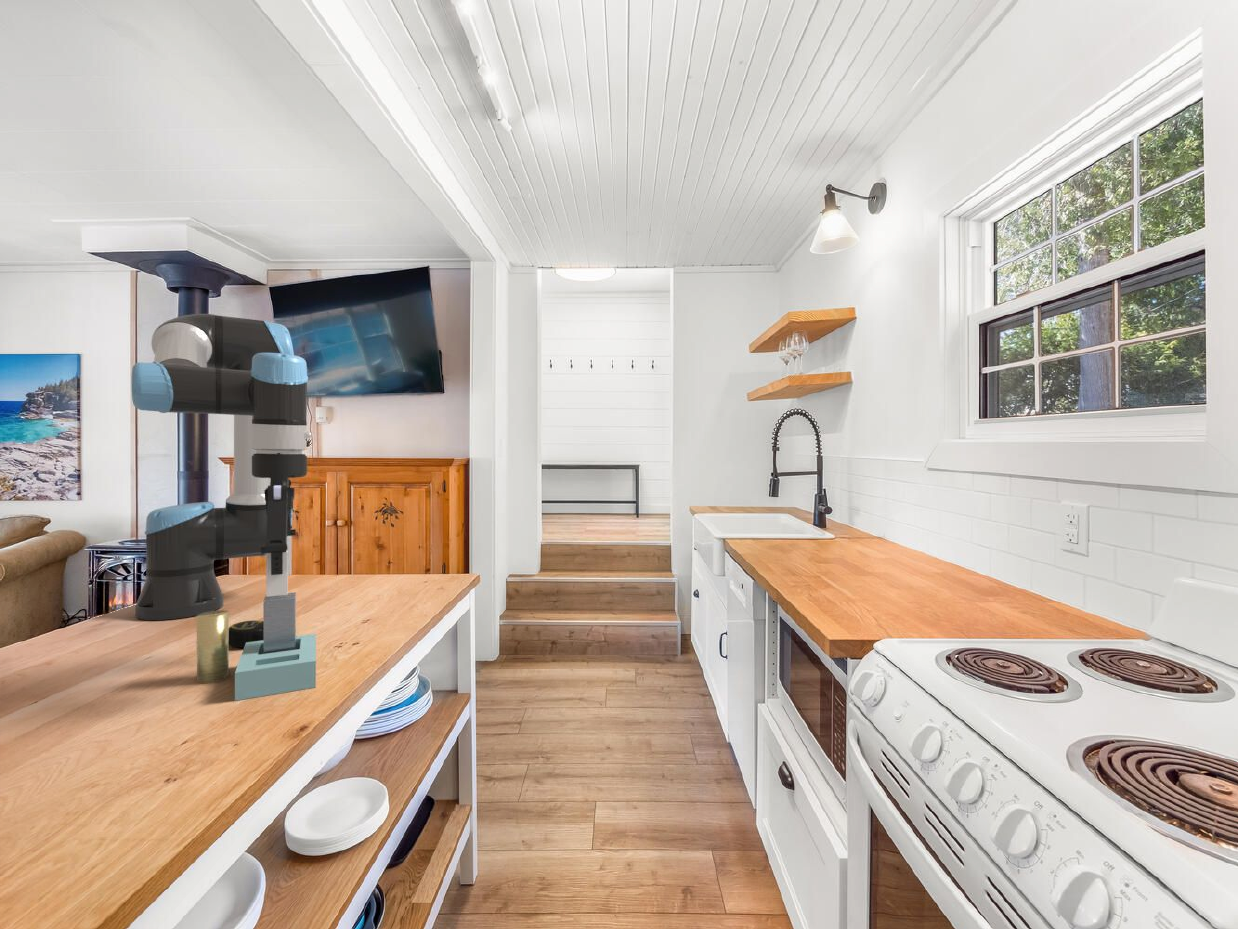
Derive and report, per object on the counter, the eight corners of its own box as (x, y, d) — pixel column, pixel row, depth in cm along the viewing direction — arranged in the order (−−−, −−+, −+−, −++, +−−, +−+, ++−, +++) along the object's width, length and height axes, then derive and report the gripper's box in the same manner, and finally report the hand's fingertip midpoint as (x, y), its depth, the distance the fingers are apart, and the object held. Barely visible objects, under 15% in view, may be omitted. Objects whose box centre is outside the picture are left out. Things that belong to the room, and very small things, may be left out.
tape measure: (265, 649, 99) (265, 628, 99) (220, 652, 97) (220, 631, 97) (276, 637, 106) (276, 617, 106) (234, 640, 104) (234, 620, 104)
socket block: (246, 666, 91) (246, 642, 91) (315, 656, 95) (315, 633, 95) (234, 700, 78) (234, 672, 78) (315, 687, 83) (315, 660, 83)
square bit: (265, 668, 90) (265, 595, 90) (295, 664, 92) (295, 592, 92) (263, 678, 86) (263, 601, 86) (294, 673, 88) (294, 598, 88)
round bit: (199, 675, 87) (199, 612, 87) (230, 671, 89) (230, 609, 89) (194, 685, 83) (194, 619, 83) (226, 680, 85) (226, 615, 85)
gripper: (305, 454, 79) (305, 602, 80) (308, 450, 101) (307, 566, 102) (242, 454, 76) (242, 608, 76) (259, 450, 98) (259, 570, 98)
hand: (279, 584), depth 89 cm, fingers open, 13 cm apart
